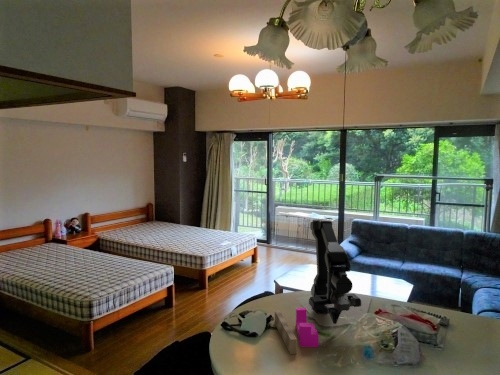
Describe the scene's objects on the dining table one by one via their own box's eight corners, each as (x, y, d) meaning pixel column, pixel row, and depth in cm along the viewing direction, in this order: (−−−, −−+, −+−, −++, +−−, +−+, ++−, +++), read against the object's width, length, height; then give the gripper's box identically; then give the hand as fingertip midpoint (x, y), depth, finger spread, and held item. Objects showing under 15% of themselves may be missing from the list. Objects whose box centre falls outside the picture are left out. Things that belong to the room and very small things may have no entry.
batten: (274, 322, 134) (274, 310, 134) (279, 322, 135) (279, 310, 134) (290, 354, 113) (290, 339, 112) (296, 353, 113) (296, 339, 113)
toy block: (318, 347, 117) (318, 326, 117) (300, 347, 117) (300, 326, 117) (311, 326, 132) (312, 307, 132) (295, 326, 132) (296, 307, 132)
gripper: (319, 293, 116) (318, 336, 117) (369, 289, 119) (368, 332, 120) (308, 281, 127) (307, 321, 128) (354, 278, 130) (353, 317, 131)
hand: (334, 323), depth 127 cm, fingers closed
